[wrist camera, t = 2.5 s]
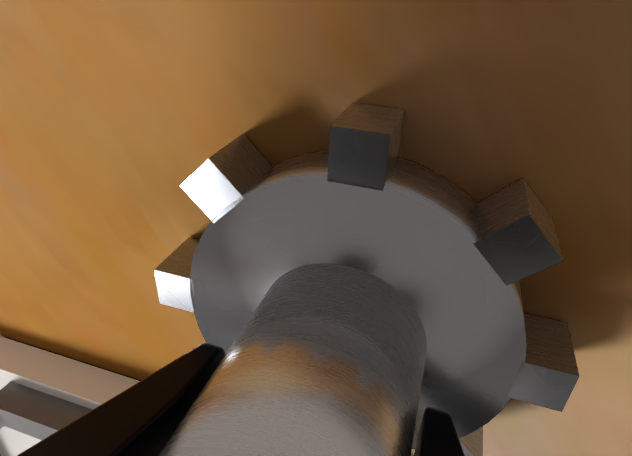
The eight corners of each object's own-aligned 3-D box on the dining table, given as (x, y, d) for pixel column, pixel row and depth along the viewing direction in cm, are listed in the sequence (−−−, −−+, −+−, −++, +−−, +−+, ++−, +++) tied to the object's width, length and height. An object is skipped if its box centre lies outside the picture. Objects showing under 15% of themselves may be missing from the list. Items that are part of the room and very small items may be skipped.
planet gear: (646, 141, 8) (1041, 583, 2) (505, 463, 12) (520, 856, 7) (169, 78, 10) (-219, 221, 4) (204, 371, 14) (37, 615, 9)
